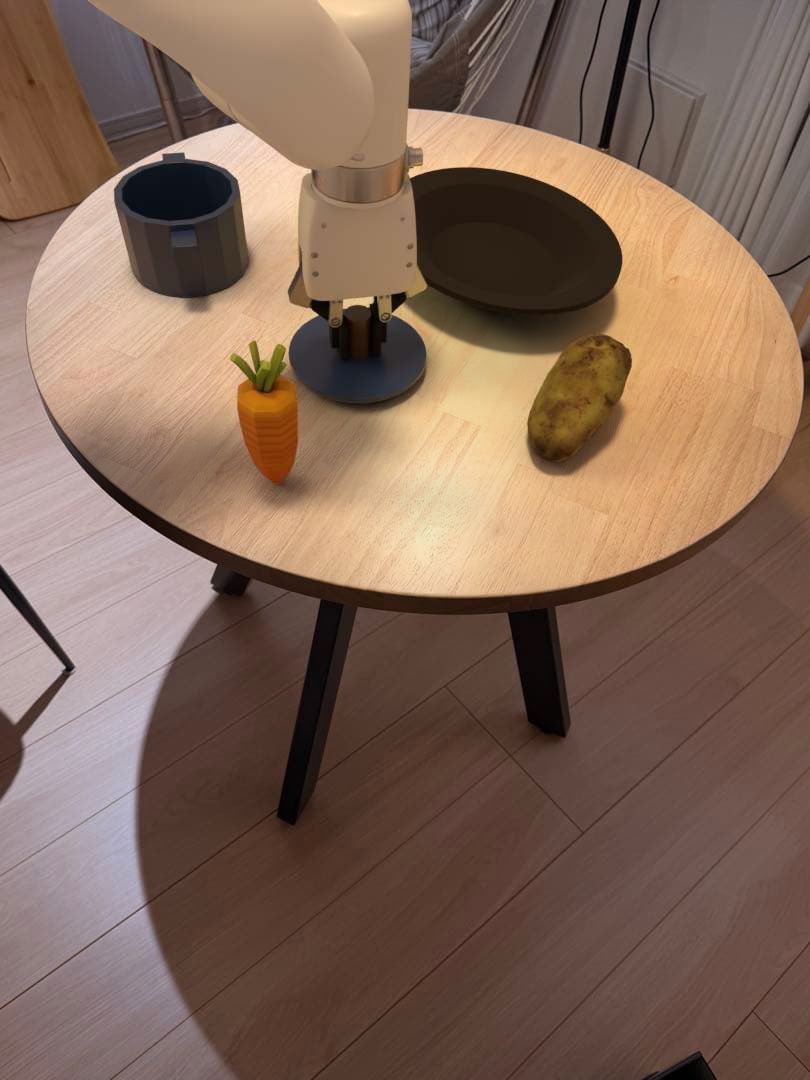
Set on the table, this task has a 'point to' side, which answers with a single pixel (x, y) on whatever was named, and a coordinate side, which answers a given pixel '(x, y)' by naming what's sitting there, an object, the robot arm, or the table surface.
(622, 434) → the table surface
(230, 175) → the pot
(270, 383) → the carrot
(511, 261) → the plate
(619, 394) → the potato
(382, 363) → the lid
